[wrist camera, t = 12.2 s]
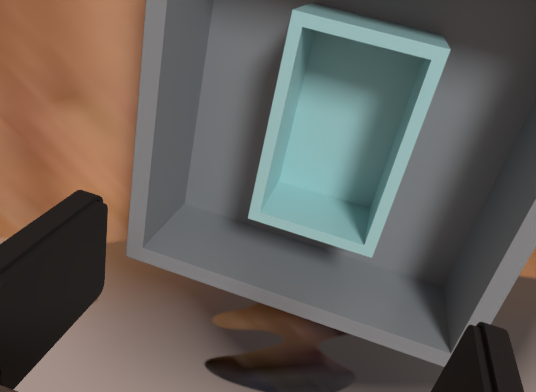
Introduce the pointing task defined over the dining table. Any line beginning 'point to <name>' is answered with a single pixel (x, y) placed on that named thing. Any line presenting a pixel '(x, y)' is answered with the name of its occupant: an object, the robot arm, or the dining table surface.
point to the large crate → (408, 194)
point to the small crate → (344, 124)
